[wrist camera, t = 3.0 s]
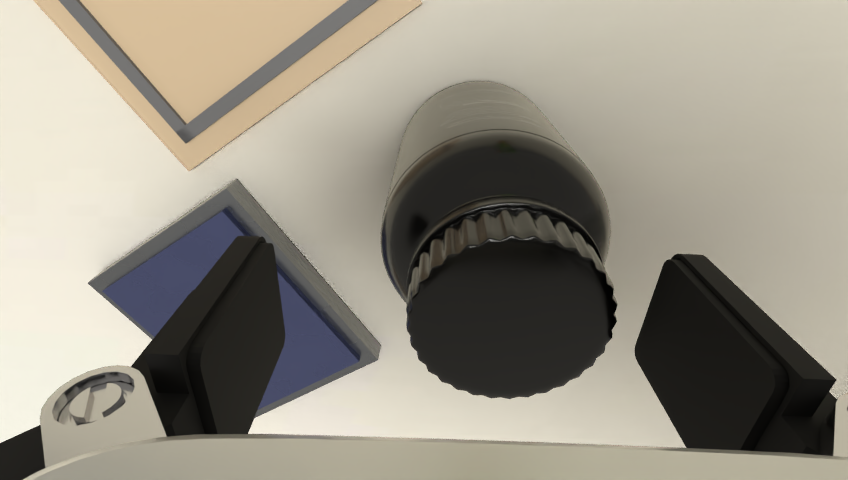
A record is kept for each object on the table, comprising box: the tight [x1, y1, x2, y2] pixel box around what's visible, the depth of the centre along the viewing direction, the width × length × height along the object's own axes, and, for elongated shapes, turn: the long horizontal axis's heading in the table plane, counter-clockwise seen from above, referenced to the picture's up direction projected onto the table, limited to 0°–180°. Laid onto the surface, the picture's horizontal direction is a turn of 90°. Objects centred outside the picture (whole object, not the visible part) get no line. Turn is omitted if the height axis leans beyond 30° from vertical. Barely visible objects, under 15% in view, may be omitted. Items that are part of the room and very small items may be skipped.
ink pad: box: [88, 179, 381, 418], centre depth 25 cm, size 12×10×2 cm
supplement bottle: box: [381, 81, 617, 399], centre depth 15 cm, size 7×7×12 cm
